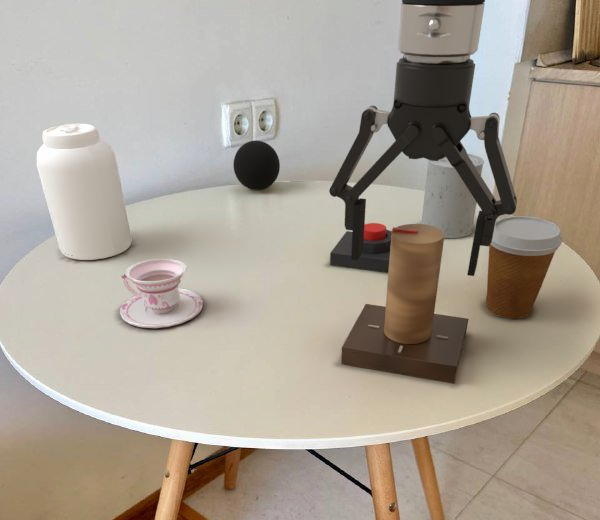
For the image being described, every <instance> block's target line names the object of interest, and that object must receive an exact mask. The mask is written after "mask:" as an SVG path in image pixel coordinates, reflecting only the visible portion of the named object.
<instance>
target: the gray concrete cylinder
mask: <svg viewBox="0 0 600 520" xmlns="http://www.w3.org/2000/svg"><path fill="white" fill-rule="evenodd" d="M467 155H468V156H469V158H470V160H471V161H472V163H473V164H474V166H475V167H476V169H477V171H478V172H479V174H480V175H481V176H482V173H483V167H484V164H485V160H484V158H482V157H481V156H478V155H475V154H472V153H471V154H470V153H467ZM424 186H425V187H424V197H423V204H422V213H421V223H420V224H424V225H430V226H434V227H437V228H439V229H441V230H442V231H443V232H444V234H445V236H444V239H461V238H465V237H467V236H470V235H471V234H472V233H473V231H474V228H473V227H474V222H475V216H476V209H477V205H478V204H477V202H476V201H475V199H474V197H473V196H472V194H471V193H470V191H469V190H468V188H467V187H466V185H465V183H464V182H463V180H462V179H461V177H460V176H459V174H458V172H457V171H456V169H455V168H454V167H453V166H452V165H451V164H450V162H449V161H448V159H447V158H446V157H445V158H443V159H439V161H431V160H428V159H427V169H426V177H425V185H424Z"/></svg>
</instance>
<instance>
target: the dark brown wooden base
mask: <svg viewBox="0 0 600 520" xmlns="http://www.w3.org/2000/svg"><path fill="white" fill-rule="evenodd" d="M385 309H386V305H376V304H370V303H365V304H364V306H363V308H362V309H361V311H360V313H359V315H358V317H357V319H356V320H355V323H354V324H353V326H352V327H351V330H350V332H349V333H348V335H347V337H346V339H345V340H344V342H343V344H342V346H341V356H340V357H341V358H340V359H341V363H340V365H345V366H351V367H357V368H363V369H368V370H373V371H381V372H385V373H391V374H397V375H401V376H402V375H403V376H408V377H413V378H420V379H426V380H430V381H431V380H432V381H436V382H437V381H438V382H443V383H449V384H455V381H456V377H457V374H458V369H459V366H460V361H461V357H462V353H463V348H464V345H465V340H466V336H467V331H468V325H469V319H470V318H467V317H461V316H454V315H453V316H452V315H446V314H439V313H434V318H433V326H432V333H431V337H430V338H429V339H428V340H426V341H424V342H422V343H417V344H403V343H398V342H395V341H393V340H391V339H389V338H388V337H387V336H386V335H385V333H384V322H385Z"/></svg>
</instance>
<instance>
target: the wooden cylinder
mask: <svg viewBox="0 0 600 520" xmlns="http://www.w3.org/2000/svg"><path fill="white" fill-rule="evenodd" d="M391 231H392V232H391V245H390V258H389V271H388V273H387V284H386V297H385V307H386V309H385V322H384V333H385V335H386V336H387V337H388V338H389V339H391V340H393V341H395V342H398V343H403V344H417V343H422V342H424V341H426V340H428V339H429V338H430V337H431V333H432V326H433V318H434V314H435V309H436V303H437V295H438V288H439V280H440V274H441V273H440V272H441V265H442V257H443V250H444V245H445V244H444V243H445V238H444V236H445V234H444V232H443V231H442V230H441V229H439V228H437V227H434V226H430V225H424V224H421V223H407V224H402V225H398V226H393V227H392V229H391Z"/></svg>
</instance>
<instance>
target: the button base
mask: <svg viewBox="0 0 600 520" xmlns="http://www.w3.org/2000/svg"><path fill="white" fill-rule="evenodd" d="M352 232H353V231H350V230H346V231H345V233H344V234H343V235H342V237H341V238H340V239H339V241H338V242H337V243H336V245H335V246H334V247H333V248H332V249H331V251H330V252H329V265H330V266H334V267H339V268H340V267H341V268H347V269H348V268H349V269H356V270H365V271H372V272H380V273H387V274H388V271H389V258H390V245H391V232H392V230H389V229H387V228H386V238H385V239H383V240H376V241H373V240H366V239H364V242H363V253H362V254H361V256H360V257H359V259H358V260H357V261H355V260H351V254H352Z"/></svg>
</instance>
